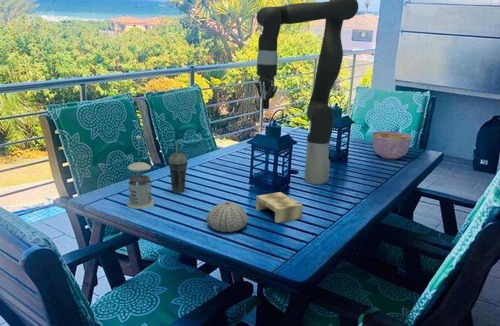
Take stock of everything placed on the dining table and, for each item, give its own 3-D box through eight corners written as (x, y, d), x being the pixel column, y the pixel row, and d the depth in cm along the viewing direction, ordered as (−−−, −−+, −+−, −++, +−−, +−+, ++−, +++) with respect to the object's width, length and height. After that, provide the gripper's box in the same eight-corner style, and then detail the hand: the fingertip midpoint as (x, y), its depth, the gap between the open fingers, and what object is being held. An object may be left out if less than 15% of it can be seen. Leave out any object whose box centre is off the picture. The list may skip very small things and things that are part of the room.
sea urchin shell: (214, 237, 145) (214, 213, 143) (200, 221, 157) (200, 198, 155) (254, 231, 150) (255, 207, 148) (238, 216, 162) (238, 194, 160)
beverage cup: (191, 189, 187) (190, 140, 181) (182, 195, 180) (182, 144, 175) (174, 187, 189) (173, 138, 183) (165, 192, 182) (164, 142, 177)
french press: (130, 210, 164) (127, 139, 157) (122, 199, 174) (119, 132, 167) (158, 206, 169) (156, 137, 162) (148, 195, 178) (146, 130, 172)
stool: (280, 191, 172) (302, 204, 161) (279, 204, 174) (301, 218, 162) (256, 195, 168) (277, 209, 156) (255, 209, 169) (277, 223, 157)
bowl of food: (367, 151, 254) (369, 130, 251) (406, 153, 251) (408, 132, 248) (371, 161, 235) (373, 138, 232) (413, 163, 232) (416, 140, 229)
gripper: (285, 64, 174) (283, 111, 179) (266, 61, 185) (264, 105, 190) (267, 64, 170) (265, 112, 175) (249, 61, 182) (248, 106, 186)
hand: (265, 108), depth 183 cm, fingers closed
